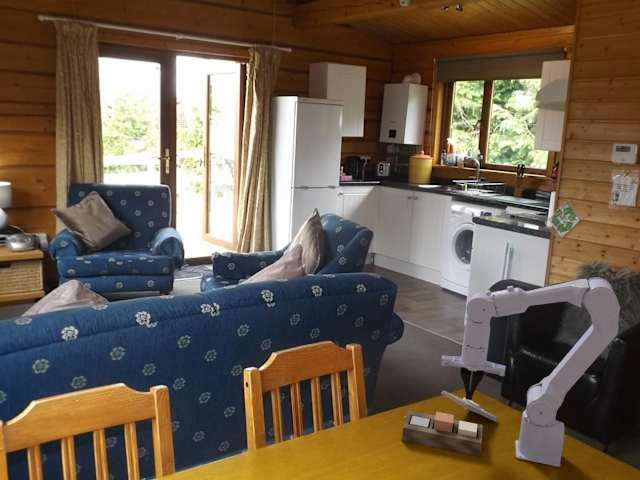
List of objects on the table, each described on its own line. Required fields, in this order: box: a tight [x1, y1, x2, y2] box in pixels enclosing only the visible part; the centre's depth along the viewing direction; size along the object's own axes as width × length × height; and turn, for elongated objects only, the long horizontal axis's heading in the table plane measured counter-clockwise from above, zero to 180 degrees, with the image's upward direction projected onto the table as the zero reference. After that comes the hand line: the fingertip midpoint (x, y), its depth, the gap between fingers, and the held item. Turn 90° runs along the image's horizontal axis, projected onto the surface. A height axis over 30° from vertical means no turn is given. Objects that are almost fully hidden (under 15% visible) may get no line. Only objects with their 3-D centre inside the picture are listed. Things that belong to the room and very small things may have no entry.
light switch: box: [440, 390, 498, 423], centre depth 154 cm, size 8×6×14 cm
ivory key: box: [458, 420, 478, 438], centre depth 142 cm, size 4×4×3 cm
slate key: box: [410, 416, 430, 428], centre depth 145 cm, size 4×4×3 cm
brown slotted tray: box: [401, 410, 483, 458], centre depth 144 cm, size 18×9×4 cm, turn 74°
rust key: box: [434, 411, 455, 433], centre depth 143 cm, size 4×4×3 cm
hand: (468, 398), depth 144 cm, fingers closed
